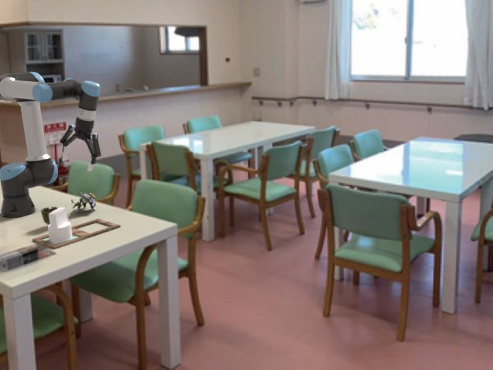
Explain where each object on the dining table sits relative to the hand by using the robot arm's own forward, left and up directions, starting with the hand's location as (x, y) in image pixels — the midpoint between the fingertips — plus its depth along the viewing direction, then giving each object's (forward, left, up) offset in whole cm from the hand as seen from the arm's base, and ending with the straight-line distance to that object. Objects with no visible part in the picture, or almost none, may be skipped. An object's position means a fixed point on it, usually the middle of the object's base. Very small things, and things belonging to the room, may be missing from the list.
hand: (77, 165), depth 247 cm
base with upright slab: (+10, -18, -26) cm, 33 cm away
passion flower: (-15, +11, -26) cm, 32 cm away
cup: (-8, -11, -26) cm, 29 cm away
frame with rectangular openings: (+10, -10, -26) cm, 30 cm away
